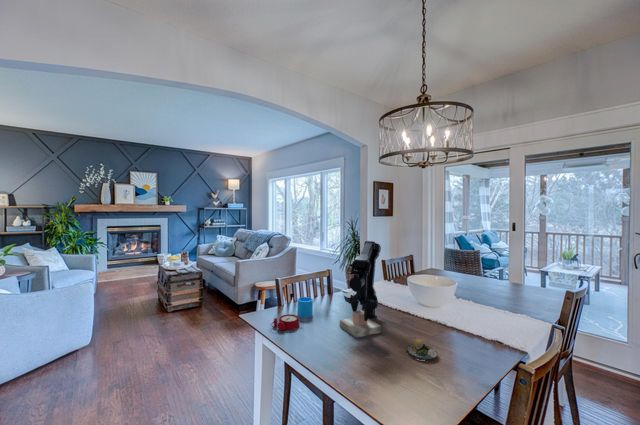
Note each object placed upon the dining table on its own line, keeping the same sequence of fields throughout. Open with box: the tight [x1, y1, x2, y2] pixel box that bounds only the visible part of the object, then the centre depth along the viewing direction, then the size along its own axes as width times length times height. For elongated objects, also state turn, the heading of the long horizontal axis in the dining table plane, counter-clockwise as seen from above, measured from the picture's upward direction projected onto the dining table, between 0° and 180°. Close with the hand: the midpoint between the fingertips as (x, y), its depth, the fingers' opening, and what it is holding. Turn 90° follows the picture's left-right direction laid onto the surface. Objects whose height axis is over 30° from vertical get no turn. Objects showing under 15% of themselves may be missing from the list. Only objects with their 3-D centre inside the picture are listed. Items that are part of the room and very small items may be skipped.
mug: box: [296, 296, 314, 318], centre depth 158 cm, size 12×8×8 cm
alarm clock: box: [270, 314, 301, 332], centre depth 140 cm, size 10×6×15 cm
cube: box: [352, 309, 367, 326], centre depth 139 cm, size 5×5×5 cm
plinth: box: [339, 317, 382, 339], centre depth 139 cm, size 14×14×3 cm
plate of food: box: [405, 336, 438, 361], centre depth 116 cm, size 12×12×8 cm
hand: (360, 317), depth 139 cm, fingers open, 9 cm apart
